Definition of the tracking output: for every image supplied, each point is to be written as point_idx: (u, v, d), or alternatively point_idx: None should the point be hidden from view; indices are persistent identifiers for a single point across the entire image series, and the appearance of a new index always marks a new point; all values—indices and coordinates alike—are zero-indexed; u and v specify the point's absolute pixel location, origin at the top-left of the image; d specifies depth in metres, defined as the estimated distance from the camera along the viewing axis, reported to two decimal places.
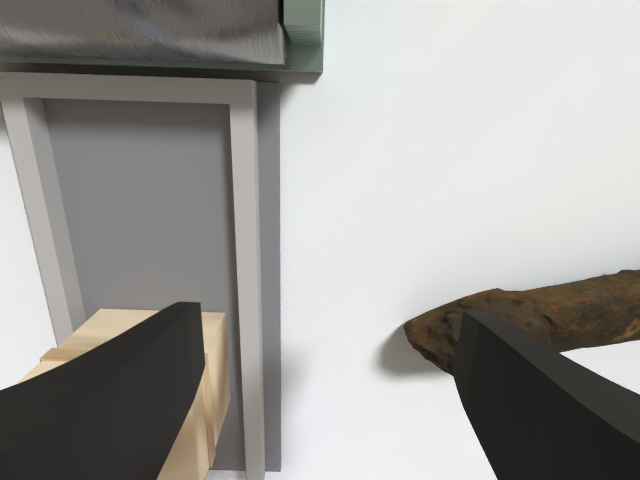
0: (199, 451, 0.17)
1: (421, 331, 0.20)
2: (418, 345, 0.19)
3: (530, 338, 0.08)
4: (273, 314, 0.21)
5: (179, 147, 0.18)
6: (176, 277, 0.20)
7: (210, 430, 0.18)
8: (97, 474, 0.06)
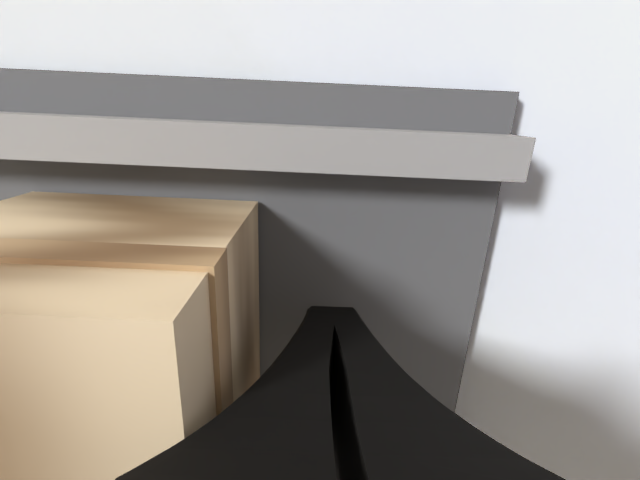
0: (15, 298, 0.05)
1: None
2: None
3: (366, 333, 0.08)
4: (32, 84, 0.09)
5: None
6: None
7: (88, 252, 0.06)
8: None
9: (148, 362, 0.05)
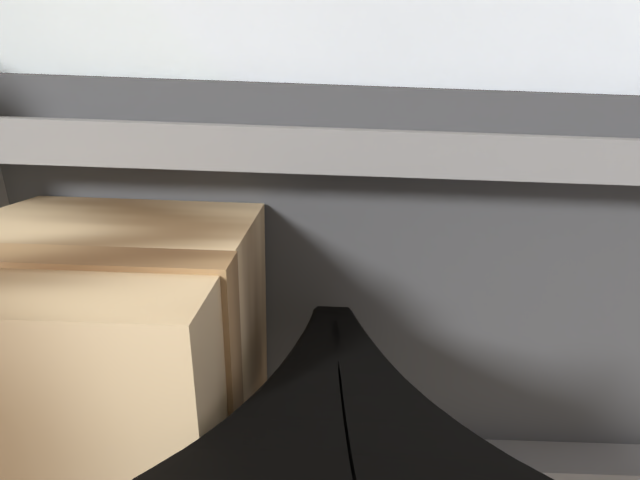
0: (29, 304, 0.05)
1: None
2: None
3: (361, 332, 0.08)
4: (430, 103, 0.09)
5: None
6: (335, 291, 0.11)
7: (100, 257, 0.06)
8: None
9: (164, 367, 0.05)
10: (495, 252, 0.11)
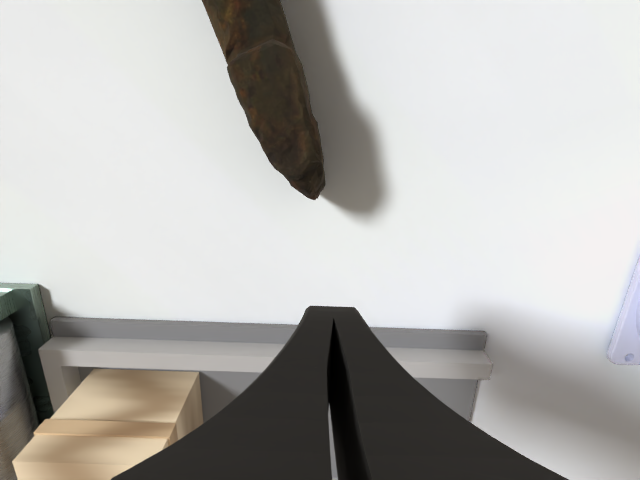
0: (108, 456, 0.16)
1: None
2: (308, 196, 0.16)
3: (368, 333, 0.08)
4: (270, 333, 0.21)
5: None
6: None
7: (127, 429, 0.17)
8: None
9: None
10: None
